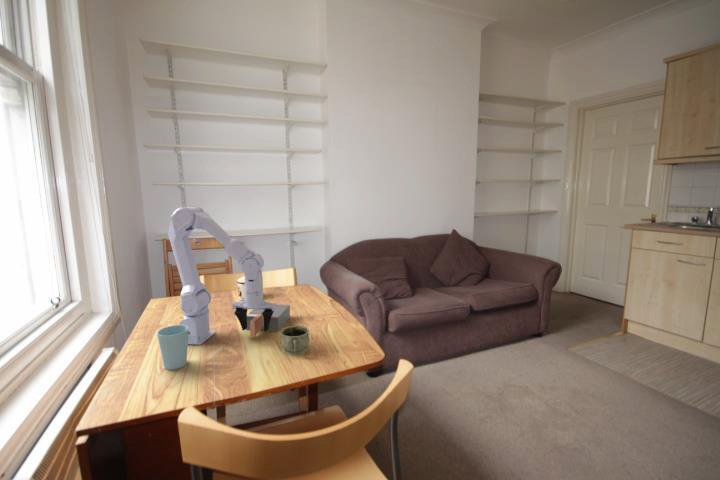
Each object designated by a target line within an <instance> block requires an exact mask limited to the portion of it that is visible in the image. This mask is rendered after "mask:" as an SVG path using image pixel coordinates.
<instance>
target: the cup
mask: <svg viewBox="0 0 720 480" xmlns="http://www.w3.org/2000/svg"><path fill="white" fill-rule="evenodd" d="M188 331H189V328H188V326H185V325H179V324H176V325H175V324H174V325H170V326H166V327H163V328H160V329H158V331H157V333H156V334H157V335H156V336H157V339H158V344H159V350H160V353H161V359H162V363H163V367H164V369H165V370H168V371H172V370H179V369H181V368H182V367H185V366H186V364H187V363H188V361H187V359H188V345H189V344H188Z"/></svg>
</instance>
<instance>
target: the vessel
mask: <svg viewBox="0 0 720 480" xmlns="http://www.w3.org/2000/svg"><path fill="white" fill-rule="evenodd" d="M309 331H310V330H309V328H308V327H306V326H303V325H289V326H287V327H284V328H281V329H280V334H281V335H280V337H281V340H280V344H281V346H282V347H283V349H282V351H283V353H284V354H285V355H290V356H298V355H301V354H304V353H306V352H307V351H308V346H309V343H310V336H309V335H310V333H309Z"/></svg>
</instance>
